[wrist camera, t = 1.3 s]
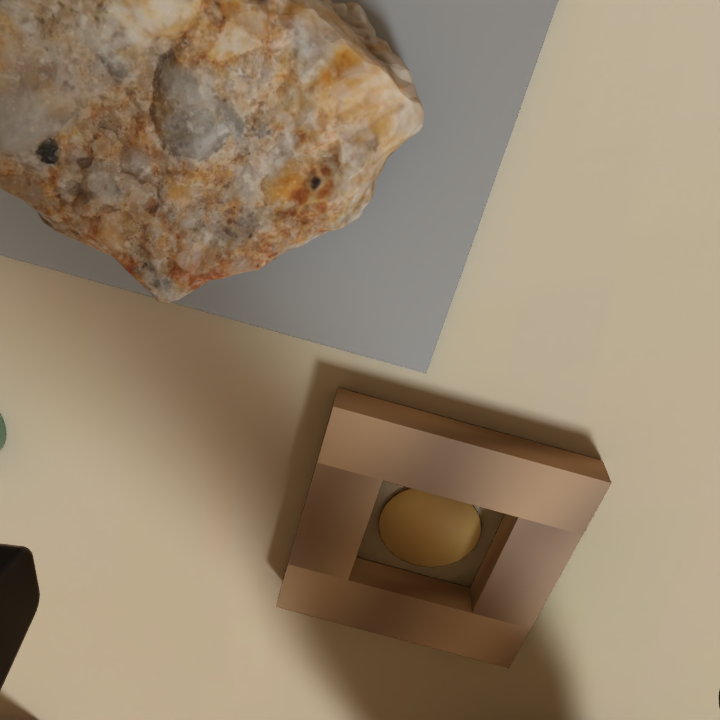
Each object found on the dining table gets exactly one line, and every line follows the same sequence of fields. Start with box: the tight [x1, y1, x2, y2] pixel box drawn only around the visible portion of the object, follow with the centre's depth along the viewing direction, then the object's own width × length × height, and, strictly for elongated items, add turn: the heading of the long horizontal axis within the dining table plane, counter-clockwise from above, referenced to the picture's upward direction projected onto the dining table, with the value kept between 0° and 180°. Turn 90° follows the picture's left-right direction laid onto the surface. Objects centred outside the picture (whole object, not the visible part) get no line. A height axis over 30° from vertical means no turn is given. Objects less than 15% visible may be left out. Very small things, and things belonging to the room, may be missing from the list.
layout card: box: [0, 0, 558, 373], centre depth 18 cm, size 16×12×1 cm
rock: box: [0, 0, 424, 303], centre depth 15 cm, size 9×6×10 cm
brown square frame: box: [276, 388, 611, 668], centre depth 23 cm, size 9×9×1 cm
